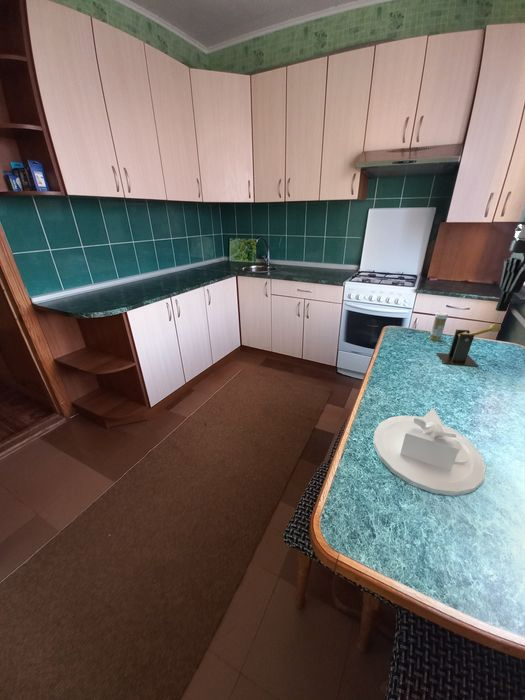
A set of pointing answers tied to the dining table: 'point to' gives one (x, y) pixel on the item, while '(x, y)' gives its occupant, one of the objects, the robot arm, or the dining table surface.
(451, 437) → the dish
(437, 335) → the sprinkles bottle
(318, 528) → the dining table surface
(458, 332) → the dark grey stand
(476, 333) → the tap lever
